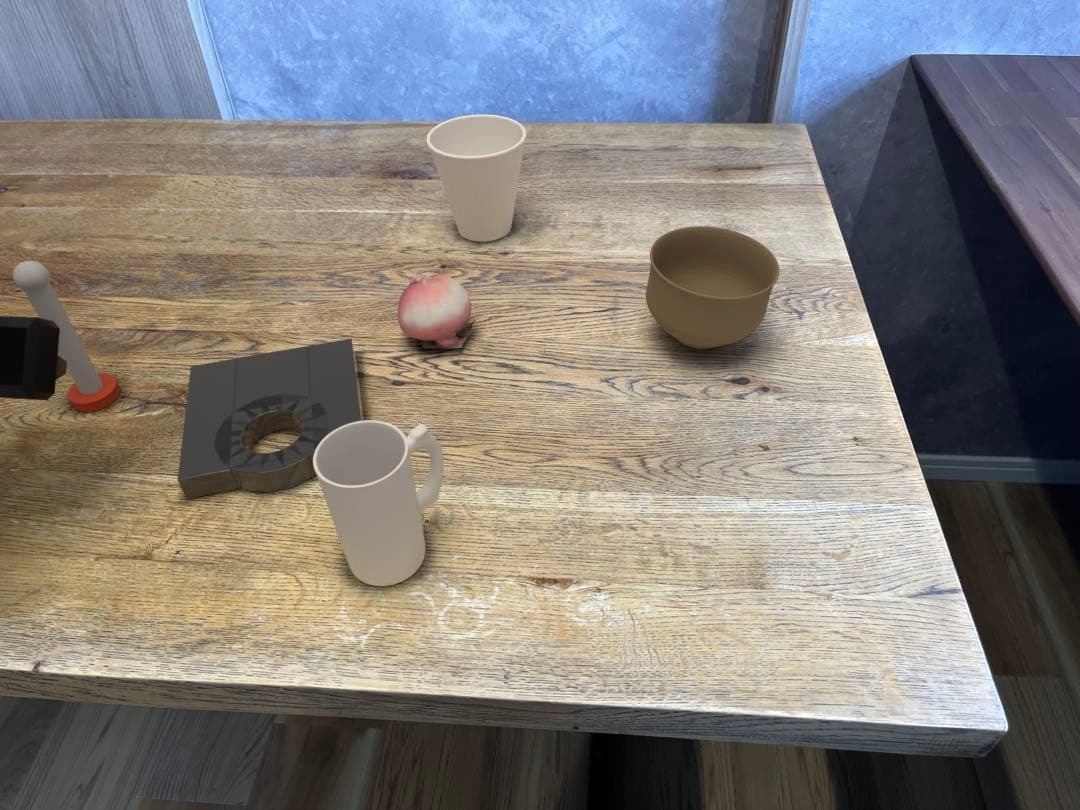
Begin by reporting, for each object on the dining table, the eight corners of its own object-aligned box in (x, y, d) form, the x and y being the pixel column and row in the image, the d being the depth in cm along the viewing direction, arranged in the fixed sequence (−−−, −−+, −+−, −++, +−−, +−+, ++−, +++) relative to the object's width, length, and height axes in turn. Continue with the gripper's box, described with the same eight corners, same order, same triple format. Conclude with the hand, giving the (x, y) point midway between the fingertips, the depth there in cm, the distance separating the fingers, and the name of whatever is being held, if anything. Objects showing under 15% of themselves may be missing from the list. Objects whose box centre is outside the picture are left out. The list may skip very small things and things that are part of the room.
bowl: (763, 383, 80) (780, 299, 74) (635, 367, 83) (639, 284, 76) (767, 309, 89) (782, 228, 83) (651, 296, 92) (657, 217, 85)
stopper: (86, 418, 80) (9, 283, 69) (63, 399, 82) (-14, 266, 72) (129, 394, 83) (62, 260, 72) (106, 376, 85) (38, 243, 74)
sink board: (185, 509, 71) (176, 489, 69) (198, 384, 83) (190, 365, 82) (370, 472, 73) (365, 453, 72) (356, 357, 86) (351, 338, 84)
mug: (376, 605, 63) (346, 503, 55) (329, 555, 67) (294, 452, 59) (476, 533, 68) (462, 429, 60) (428, 490, 72) (408, 386, 63)
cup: (535, 205, 108) (531, 114, 100) (525, 253, 99) (520, 157, 91) (447, 204, 109) (436, 113, 101) (430, 251, 101) (416, 156, 92)
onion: (457, 307, 92) (451, 251, 87) (488, 343, 87) (483, 286, 82) (391, 329, 89) (380, 274, 84) (419, 368, 84) (409, 311, 79)
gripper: (-18, 229, 55) (123, 277, 71) (-263, 223, 57) (-74, 270, 73) (-32, 393, 55) (113, 405, 70) (-279, 381, 57) (-85, 395, 72)
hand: (15, 365), depth 71 cm, fingers open, 9 cm apart
